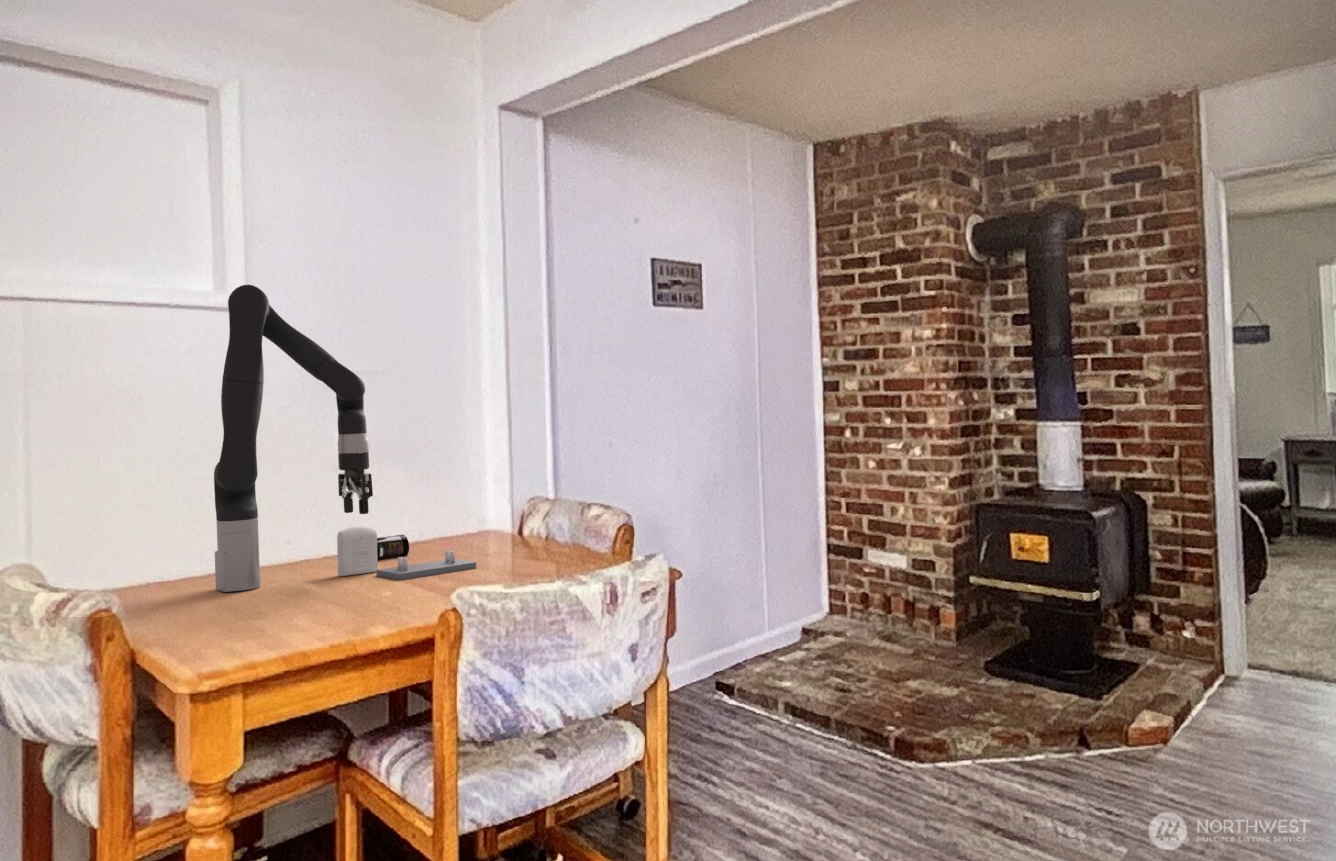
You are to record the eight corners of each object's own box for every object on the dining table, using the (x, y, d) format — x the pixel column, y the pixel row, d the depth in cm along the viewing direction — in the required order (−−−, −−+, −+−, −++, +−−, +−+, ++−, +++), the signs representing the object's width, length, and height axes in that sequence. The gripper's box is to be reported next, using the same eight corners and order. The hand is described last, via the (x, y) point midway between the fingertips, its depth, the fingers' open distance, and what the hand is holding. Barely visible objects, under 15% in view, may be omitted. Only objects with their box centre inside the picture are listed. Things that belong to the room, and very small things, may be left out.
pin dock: (476, 567, 230) (475, 550, 230) (400, 580, 214) (399, 561, 214) (451, 564, 238) (451, 548, 238) (376, 575, 222) (375, 558, 222)
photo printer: (373, 570, 232) (371, 524, 232) (380, 572, 229) (378, 525, 229) (335, 575, 225) (333, 528, 225) (342, 577, 222) (340, 529, 222)
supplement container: (363, 557, 252) (396, 552, 260) (374, 565, 248) (407, 560, 255) (365, 535, 251) (399, 531, 258) (376, 543, 246) (410, 539, 254)
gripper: (327, 452, 229) (330, 513, 229) (352, 451, 219) (355, 515, 220) (354, 451, 235) (357, 511, 235) (380, 450, 225) (382, 512, 225)
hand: (356, 513), depth 227 cm, fingers open, 8 cm apart
